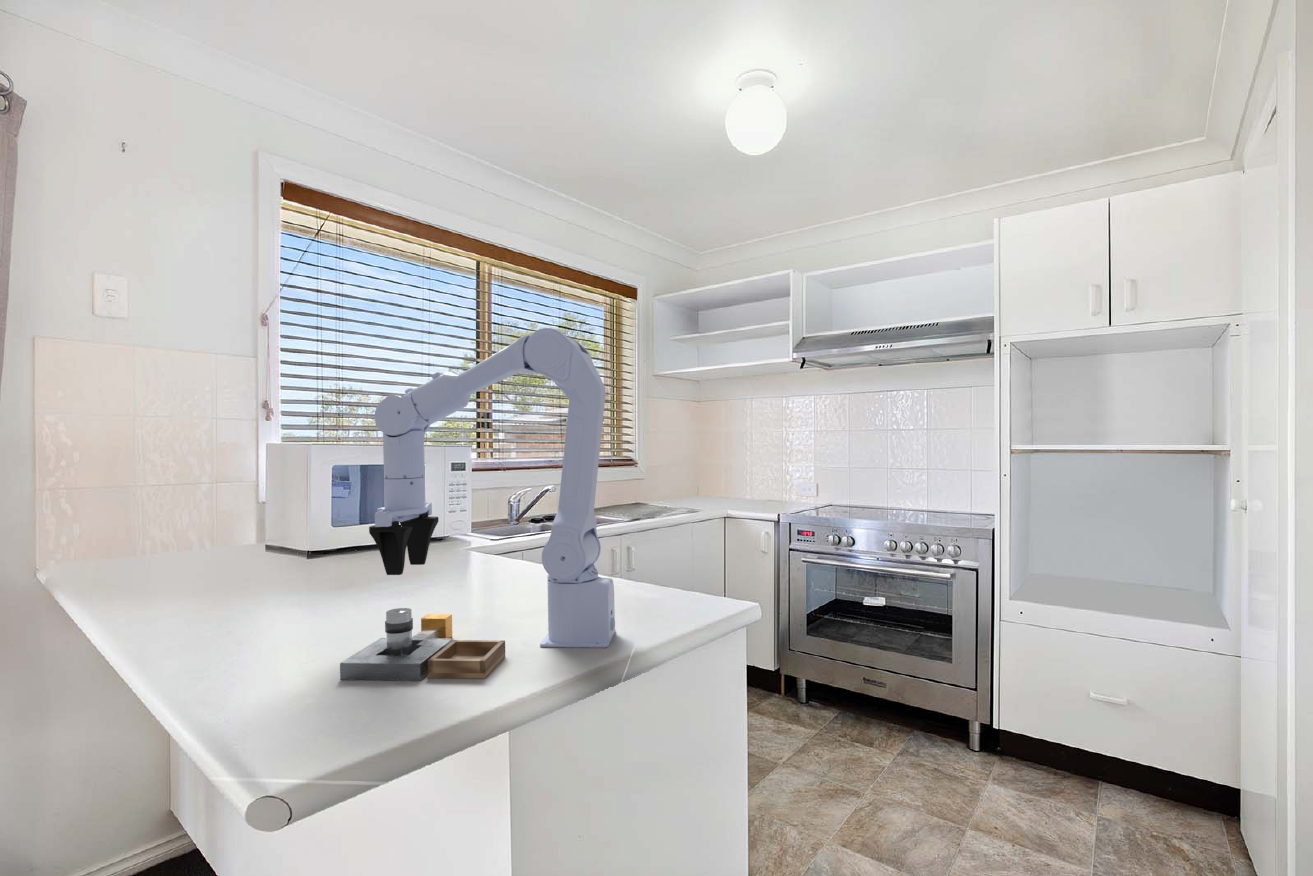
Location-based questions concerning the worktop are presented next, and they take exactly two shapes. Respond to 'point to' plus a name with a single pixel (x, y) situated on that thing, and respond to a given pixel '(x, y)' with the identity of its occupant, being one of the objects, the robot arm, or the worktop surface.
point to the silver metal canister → (399, 632)
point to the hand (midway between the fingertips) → (406, 569)
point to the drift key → (433, 628)
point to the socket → (391, 662)
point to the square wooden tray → (466, 659)
